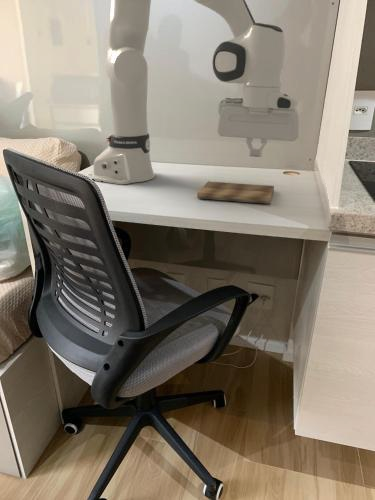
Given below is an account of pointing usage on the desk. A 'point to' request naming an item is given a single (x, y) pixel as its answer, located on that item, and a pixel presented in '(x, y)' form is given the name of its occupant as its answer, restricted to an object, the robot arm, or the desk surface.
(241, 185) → the laid board
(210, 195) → the plank
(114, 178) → the robot arm
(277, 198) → the desk surface
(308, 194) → the desk surface
